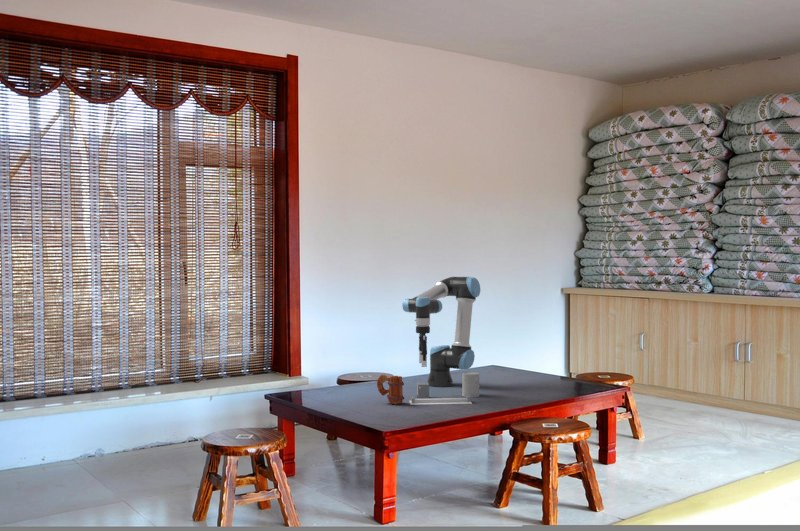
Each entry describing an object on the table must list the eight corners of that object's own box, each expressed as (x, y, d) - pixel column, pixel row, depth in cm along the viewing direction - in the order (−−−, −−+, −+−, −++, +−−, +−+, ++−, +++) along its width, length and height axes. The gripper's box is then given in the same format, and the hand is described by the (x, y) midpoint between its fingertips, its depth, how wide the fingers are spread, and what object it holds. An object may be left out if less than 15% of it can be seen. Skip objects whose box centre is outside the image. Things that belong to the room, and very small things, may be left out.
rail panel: (409, 401, 410) (409, 396, 410) (469, 400, 412) (469, 395, 412) (410, 404, 401) (410, 399, 401) (472, 403, 403) (472, 398, 403)
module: (416, 397, 421) (416, 382, 421) (427, 396, 422) (427, 382, 422) (418, 399, 414) (418, 384, 414) (429, 399, 415) (429, 384, 415)
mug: (406, 402, 407) (406, 374, 406) (402, 405, 399) (402, 376, 399) (380, 401, 411) (379, 372, 411) (375, 404, 403) (375, 375, 403)
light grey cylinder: (475, 393, 432) (475, 371, 432) (482, 396, 423) (482, 374, 423) (459, 394, 429) (459, 372, 429) (466, 397, 420) (466, 375, 420)
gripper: (413, 323, 429) (413, 361, 430) (418, 328, 404) (418, 368, 405) (427, 323, 430) (427, 361, 430) (432, 327, 405) (432, 368, 405)
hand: (422, 365), depth 418 cm, fingers open, 13 cm apart
